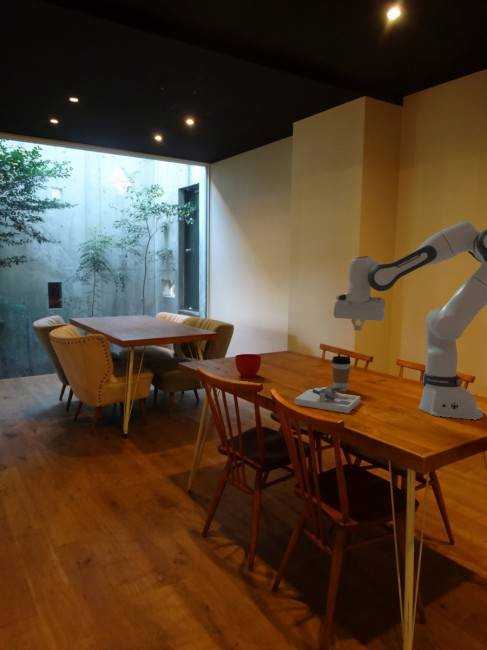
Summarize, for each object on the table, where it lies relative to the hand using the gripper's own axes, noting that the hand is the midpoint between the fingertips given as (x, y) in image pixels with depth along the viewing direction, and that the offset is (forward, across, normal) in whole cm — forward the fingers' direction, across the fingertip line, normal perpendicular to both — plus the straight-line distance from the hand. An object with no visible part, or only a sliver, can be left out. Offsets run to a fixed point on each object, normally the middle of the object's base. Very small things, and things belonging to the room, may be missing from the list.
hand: (357, 330), depth 188 cm
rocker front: (+24, +8, +16) cm, 30 cm away
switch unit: (+29, +8, +12) cm, 32 cm away
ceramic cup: (+29, +59, -14) cm, 67 cm away
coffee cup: (+29, +10, -11) cm, 33 cm away
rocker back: (+24, +8, +8) cm, 27 cm away
